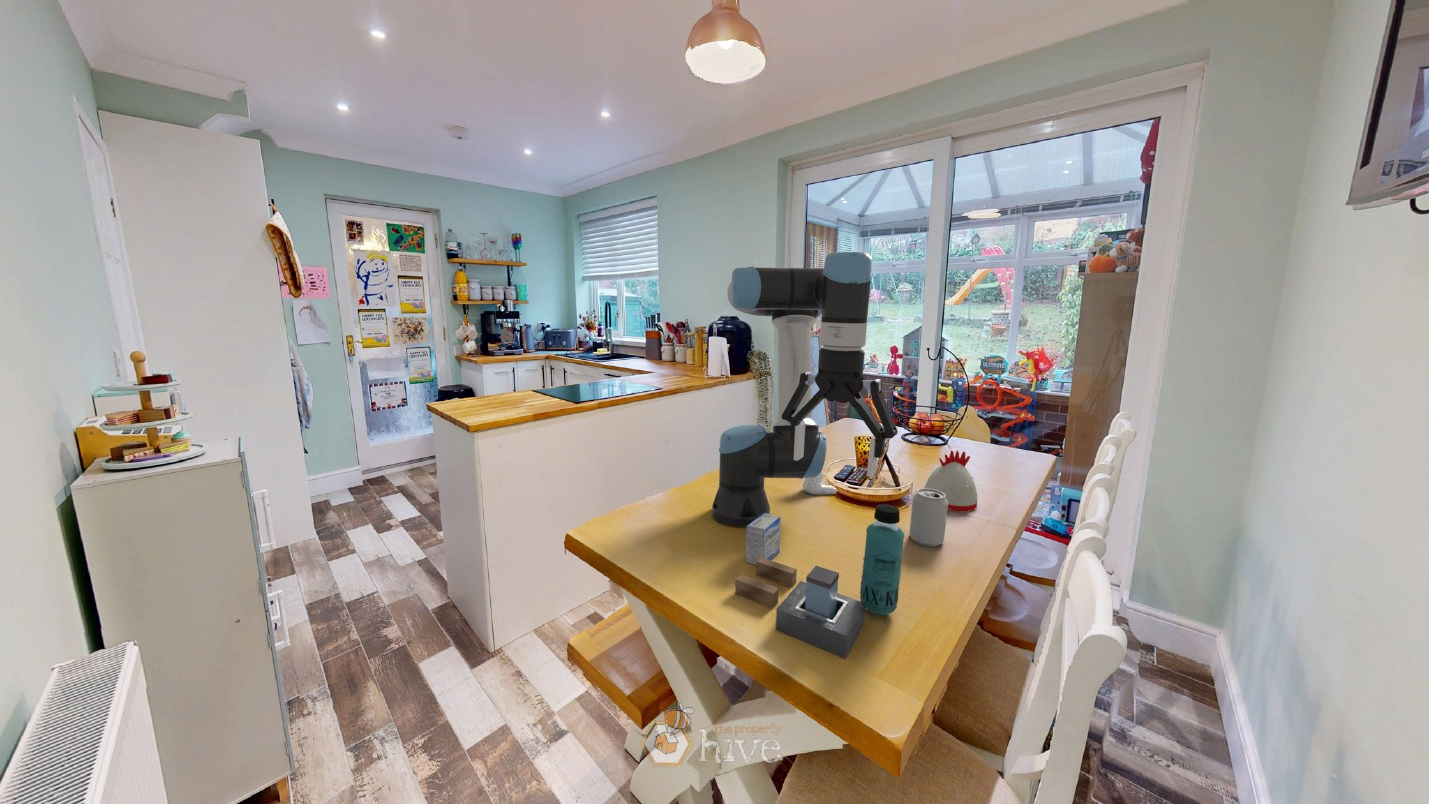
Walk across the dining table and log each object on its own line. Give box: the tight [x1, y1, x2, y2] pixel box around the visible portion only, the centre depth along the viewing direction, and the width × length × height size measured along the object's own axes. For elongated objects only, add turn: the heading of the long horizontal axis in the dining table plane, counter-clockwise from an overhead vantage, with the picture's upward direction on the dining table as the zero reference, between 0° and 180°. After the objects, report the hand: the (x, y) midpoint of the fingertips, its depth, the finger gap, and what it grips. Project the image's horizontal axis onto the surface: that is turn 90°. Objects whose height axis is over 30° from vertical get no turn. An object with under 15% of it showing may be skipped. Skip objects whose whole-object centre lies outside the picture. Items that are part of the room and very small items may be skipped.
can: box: [908, 488, 948, 547], centre depth 112 cm, size 8×8×12 cm
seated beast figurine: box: [802, 469, 837, 496], centre depth 141 cm, size 10×9×12 cm
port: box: [775, 580, 867, 659], centre depth 81 cm, size 12×10×4 cm
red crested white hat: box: [924, 450, 979, 512], centre depth 134 cm, size 14×14×15 cm
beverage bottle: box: [859, 503, 905, 615], centre depth 84 cm, size 6×7×20 cm
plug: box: [805, 565, 840, 620], centre depth 80 cm, size 4×4×10 cm
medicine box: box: [745, 513, 782, 566], centre depth 103 cm, size 8×4×9 cm, turn 148°
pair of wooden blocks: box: [734, 557, 798, 609], centre depth 92 cm, size 8×10×3 cm
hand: (833, 466), depth 86 cm, fingers open, 13 cm apart
